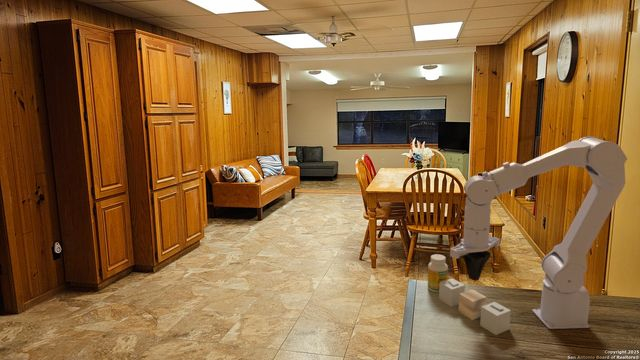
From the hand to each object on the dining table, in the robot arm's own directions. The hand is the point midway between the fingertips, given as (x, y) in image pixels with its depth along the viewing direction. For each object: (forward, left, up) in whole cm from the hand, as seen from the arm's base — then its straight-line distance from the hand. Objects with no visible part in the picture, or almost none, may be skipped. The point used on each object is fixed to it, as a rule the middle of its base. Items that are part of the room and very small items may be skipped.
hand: (473, 278), depth 100 cm
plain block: (0, 0, -10) cm, 10 cm away
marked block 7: (+3, -6, -10) cm, 12 cm away
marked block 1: (-3, +6, -10) cm, 12 cm away
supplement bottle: (+5, -13, -10) cm, 17 cm away
